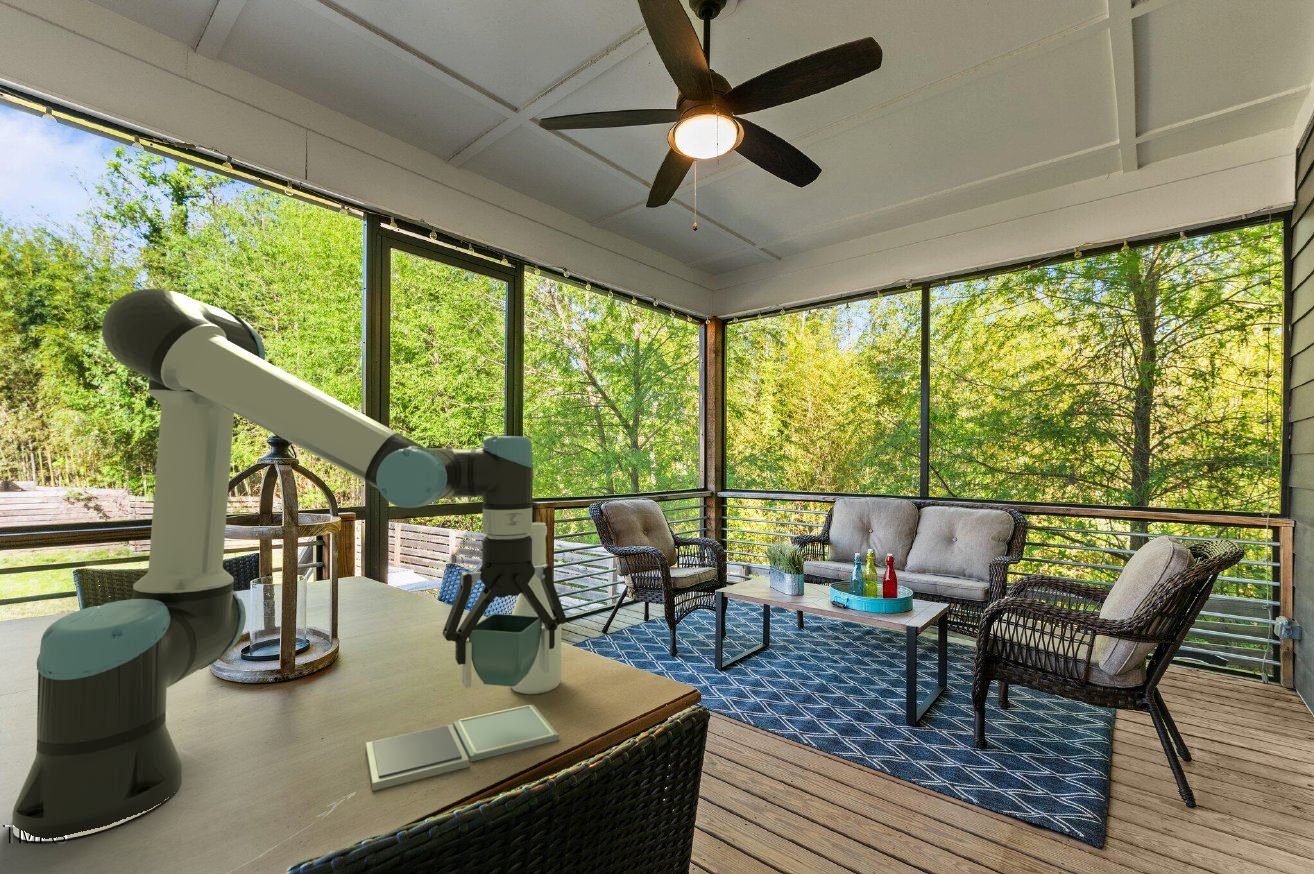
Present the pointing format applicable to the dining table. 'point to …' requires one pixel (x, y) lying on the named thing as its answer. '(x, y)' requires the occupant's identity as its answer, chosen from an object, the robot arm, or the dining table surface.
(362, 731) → the dining table surface
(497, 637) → the flower pot
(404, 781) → the ink pad
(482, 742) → the board
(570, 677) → the dining table surface
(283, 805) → the dining table surface
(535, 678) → the wine bottle
